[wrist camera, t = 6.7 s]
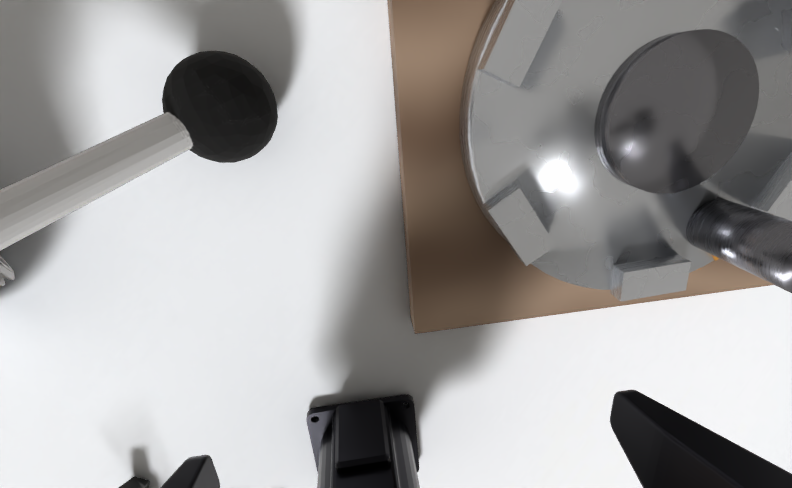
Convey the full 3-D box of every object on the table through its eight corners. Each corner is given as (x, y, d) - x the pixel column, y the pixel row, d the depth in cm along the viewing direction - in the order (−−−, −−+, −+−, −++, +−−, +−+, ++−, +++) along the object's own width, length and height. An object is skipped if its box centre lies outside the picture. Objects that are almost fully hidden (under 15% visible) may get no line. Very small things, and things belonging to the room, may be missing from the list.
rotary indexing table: (384, 71, 16) (408, 69, 10) (746, -225, 14) (1037, -443, 8) (560, 325, 22) (639, 415, 16) (835, 143, 20) (1042, 171, 14)
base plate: (749, 273, 25) (778, 287, 23) (410, 318, 23) (416, 336, 22) (882, -182, 17) (941, -210, 15) (375, -164, 15) (379, -194, 13)
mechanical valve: (-384, 213, 14) (-1414, 245, 4) (112, 46, 24) (211, -77, 13) (-106, 397, 19) (-218, 638, 9) (214, 195, 29) (346, 192, 18)
